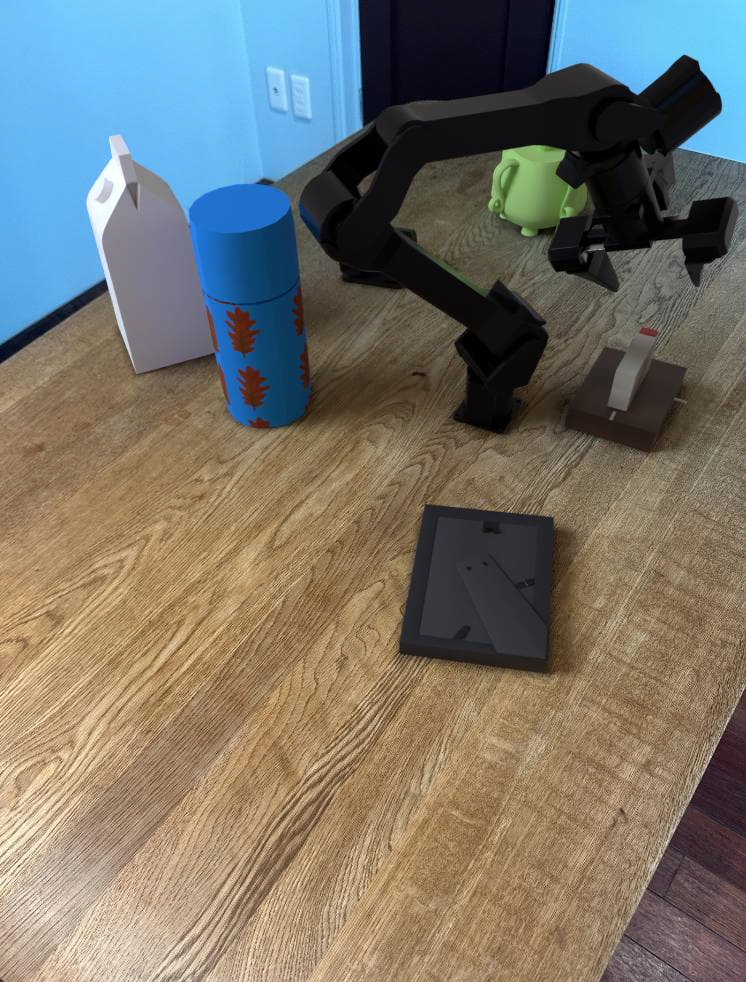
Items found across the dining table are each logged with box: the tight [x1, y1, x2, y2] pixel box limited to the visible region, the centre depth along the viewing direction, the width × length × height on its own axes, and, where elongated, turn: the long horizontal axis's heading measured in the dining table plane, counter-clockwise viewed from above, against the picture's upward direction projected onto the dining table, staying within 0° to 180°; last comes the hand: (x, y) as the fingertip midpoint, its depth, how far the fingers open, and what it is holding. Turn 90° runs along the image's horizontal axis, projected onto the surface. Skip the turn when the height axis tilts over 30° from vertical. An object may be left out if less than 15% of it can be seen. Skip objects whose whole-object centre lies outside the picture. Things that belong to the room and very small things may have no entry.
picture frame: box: [398, 503, 555, 674], centre depth 79 cm, size 13×2×18 cm
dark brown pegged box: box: [564, 345, 688, 453], centre depth 96 cm, size 13×13×3 cm
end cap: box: [338, 226, 418, 290], centre depth 117 cm, size 10×7×7 cm
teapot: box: [487, 145, 588, 237], centre depth 123 cm, size 16×14×13 cm
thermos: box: [188, 183, 312, 429], centre depth 92 cm, size 11×11×25 cm
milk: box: [85, 133, 215, 375], centre depth 102 cm, size 12×12×26 cm
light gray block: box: [608, 326, 660, 411], centre depth 93 cm, size 9×2×5 cm, turn 150°
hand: (656, 286), depth 93 cm, fingers open, 9 cm apart
